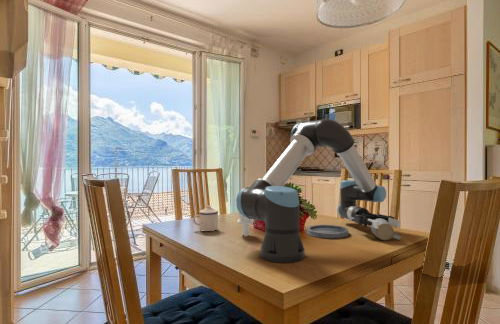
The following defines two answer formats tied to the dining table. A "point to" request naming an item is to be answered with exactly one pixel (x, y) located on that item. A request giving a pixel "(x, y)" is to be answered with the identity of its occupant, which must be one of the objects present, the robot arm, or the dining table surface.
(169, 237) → the dining table surface
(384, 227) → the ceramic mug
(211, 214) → the teacup with lid
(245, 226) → the strainer
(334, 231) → the saucer
